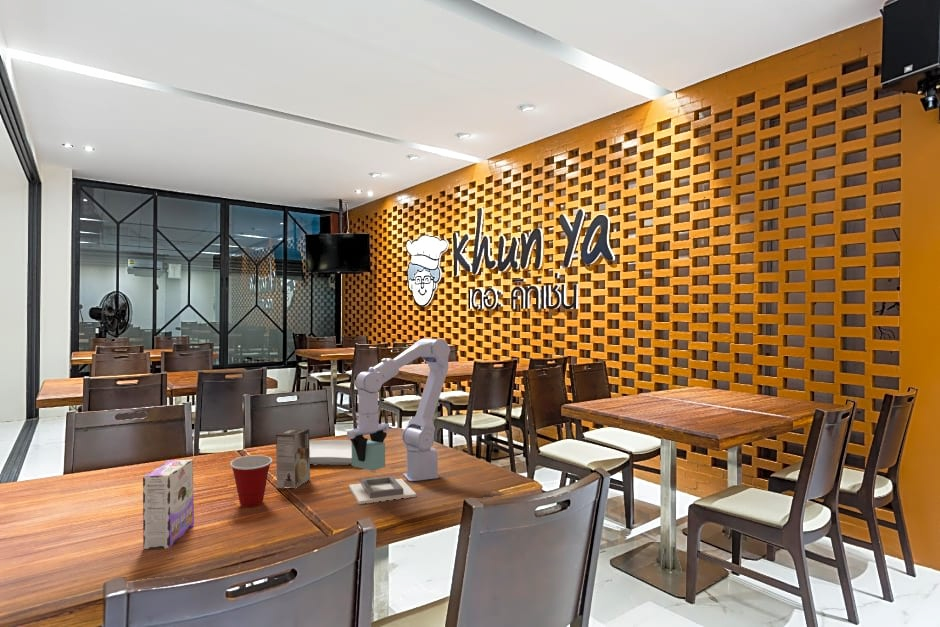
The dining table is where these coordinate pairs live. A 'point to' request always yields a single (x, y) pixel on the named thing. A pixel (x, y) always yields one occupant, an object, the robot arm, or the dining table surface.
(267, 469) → the plastic cup
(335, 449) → the square plate
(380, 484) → the socket board
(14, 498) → the dining table surface
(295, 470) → the coffee box
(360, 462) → the teal block
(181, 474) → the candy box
